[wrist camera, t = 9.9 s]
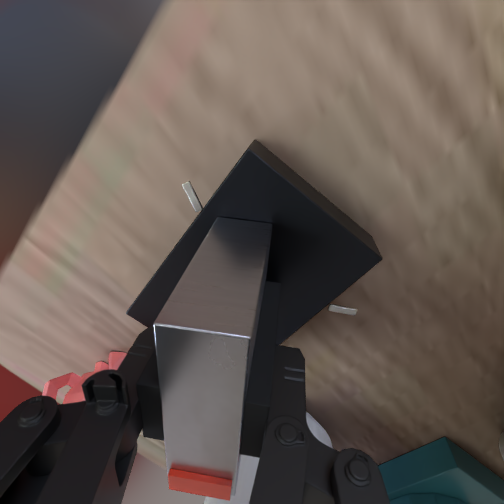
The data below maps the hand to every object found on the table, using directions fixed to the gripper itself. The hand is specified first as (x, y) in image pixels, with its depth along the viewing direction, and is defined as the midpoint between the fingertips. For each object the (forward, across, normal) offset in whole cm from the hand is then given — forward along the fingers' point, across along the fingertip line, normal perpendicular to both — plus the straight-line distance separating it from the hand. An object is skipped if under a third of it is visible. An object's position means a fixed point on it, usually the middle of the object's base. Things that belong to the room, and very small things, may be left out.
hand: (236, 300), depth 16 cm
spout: (+1, 0, 0) cm, 1 cm away
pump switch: (+4, -16, +19) cm, 25 cm away
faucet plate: (+4, 0, 0) cm, 4 cm away
